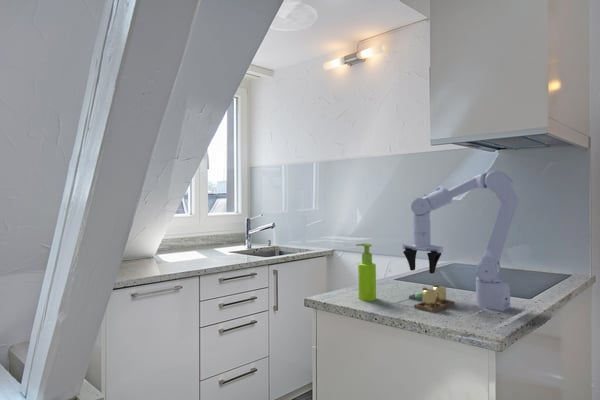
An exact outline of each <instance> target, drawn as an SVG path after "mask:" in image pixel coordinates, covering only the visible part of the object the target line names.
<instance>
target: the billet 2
mask: <svg viewBox="0 0 600 400" xmlns="http://www.w3.org/2000/svg"><path fill="white" fill-rule="evenodd" d="M432 289H434V290H436V303H438V304H446V300H447V287H446V286H444V285H443V286H442V285H441V286H440V285H439V284H436V283H434V284H433V286H432Z"/></svg>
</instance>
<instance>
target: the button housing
mask: <svg viewBox="0 0 600 400" xmlns="http://www.w3.org/2000/svg"><path fill="white" fill-rule="evenodd" d="M408 299H412V300H417V301H421V302H423V297H422V298H420V297H415V293H414V294H411V295H409V296H408ZM412 300H411V301H412ZM417 301H416V302H417ZM421 302H420V303H421Z"/></svg>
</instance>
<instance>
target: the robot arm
mask: <svg viewBox="0 0 600 400" xmlns="http://www.w3.org/2000/svg"><path fill="white" fill-rule="evenodd" d="M476 189H489V190H490V191H491V192H493V193H494V194H495V195H496V197H497V199H498V200H499V201H500V205H499V207H498V210H497V211H498V212H497V214H496V218H495V221H494V223H493V227H492V230H491V233H490V234H489V235H490V236H489V240H488V242H487V246H486V248H485V251H484V254H483V256H482V258H481V261H480V262H479V263H478V264H477V265H476V266H475V270H474V271H475V276H476V277H475V304H476V305H477V306H479V307H484V308H485V309H488V310H489V309H490V310H494V311H499V312H505V311H506V310H509V309H510V308H511V287H510V284H509V283H507V282H503V281H502V280H501V278H500V277H499V275H498V274H499V273H500V272H501V264H500V261H501V257H502V254H503V250H504V248H505V244H506V240H507V239H508V235H509V231H510V229H511V226H512V223H513V220H514V217H515V213H516V212H517V208H518V206H519V202H520V201H519V200H520V199H519V198H520V197H519V195H518V193H517V190H516V186H515V185H514V182H513V180H512V178H511V177H510V176H509V175H508V174H507V173H506V172H504V171H502V170H500V169H492V170H490V171H489V172H484V173H480V174H479V175H475V176H473V177H470V178H469V179H467V180H465V181H462V182H461V183H458V184H457V185H455V186H453V187H451V188H449V189H448V188H445V187H441V188H440V187H437V188H435V191H433V192H430V193H428V194H423V195H422V197H416V199H414V200H413V201H412V202H411V205H410V208H411V209H410V210H411V211H412V213H413V214H412V215H413V216H412V217H413V218H412V219H413V220H412V222H413V223H412V227H413V230H412V231H413V234H412V235H413V237H412V239H413V242H412V243H402V250H403V252H402V253H403V255H404V256H405V258H406V260H407V264H408V266H409V269H410V271H415V270H416V258H417V252H418V251H421V252H427V253H426V255H427V259H428V264H429V265H428V267H429V268H428V269H429V270H428V271H429V274H435V272H436V268H437V264H438V262H439V259H440V258H441V256H442V253H443V252H444V250H443V249H444V247H443V246H441V245H440V246H439V245H438V246H437V245H432V244H431V243H432V242H431V212H432V211H436V210H438V209H440V208H442V207H445V206H447V205H449V204H451V203H452V201H453V199H454V198H455V197H458V196H460V195H463V194H465V193H468V192H470V191H473V190H476Z"/></svg>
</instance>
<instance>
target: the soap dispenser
mask: <svg viewBox="0 0 600 400" xmlns="http://www.w3.org/2000/svg"><path fill="white" fill-rule="evenodd" d="M355 245H356V247H359V246H361V247H364V250H363V251H364V252H362V253H361V262H360V263H358V264H357V265H358V269H357V271H358V300H360V301H364V302H371V301H372V302H373V301H376V300H377V272H376V271H377V270H376V269H377V267H376V266H377V265H376V263H375V262H373V254H372V253H371V252H370V247H372V246H373V244H370V243H359V244H355Z"/></svg>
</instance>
